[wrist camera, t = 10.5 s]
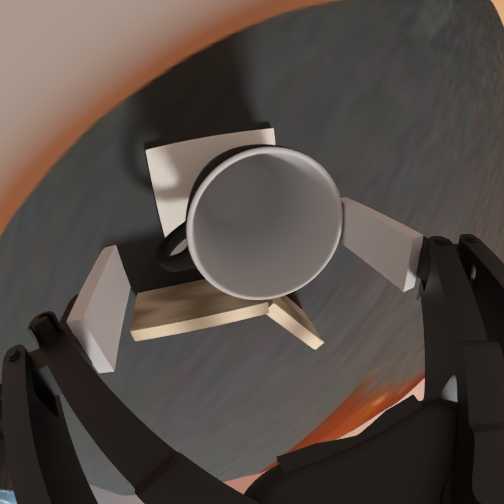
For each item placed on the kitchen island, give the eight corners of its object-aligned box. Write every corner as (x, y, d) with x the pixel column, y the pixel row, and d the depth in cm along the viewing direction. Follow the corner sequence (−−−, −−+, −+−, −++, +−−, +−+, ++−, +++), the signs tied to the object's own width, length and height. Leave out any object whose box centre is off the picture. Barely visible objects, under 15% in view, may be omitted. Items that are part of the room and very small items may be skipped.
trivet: (172, 263, 25) (172, 266, 25) (146, 149, 21) (145, 150, 20) (282, 240, 27) (284, 242, 27) (271, 128, 22) (273, 128, 22)
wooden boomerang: (161, 347, 29) (160, 386, 24) (137, 293, 26) (130, 331, 20) (302, 314, 32) (323, 347, 27) (301, 257, 29) (327, 286, 23)
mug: (262, 123, 21) (313, 118, 12) (300, 210, 25) (358, 256, 16) (138, 190, 21) (104, 231, 12) (189, 270, 25) (193, 344, 17)
